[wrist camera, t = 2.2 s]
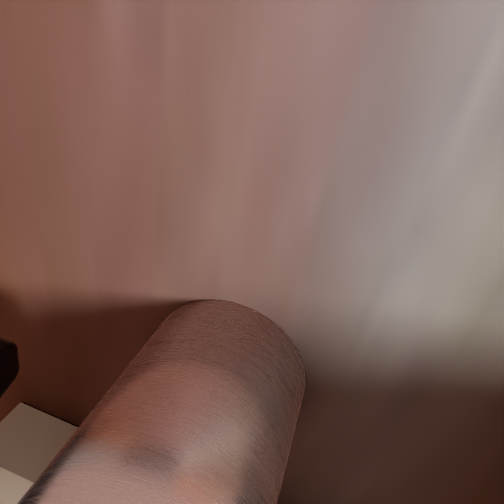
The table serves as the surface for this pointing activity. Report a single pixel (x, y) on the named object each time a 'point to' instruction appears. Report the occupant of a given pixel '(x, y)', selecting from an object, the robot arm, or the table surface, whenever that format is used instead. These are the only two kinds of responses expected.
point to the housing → (28, 448)
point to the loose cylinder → (188, 417)
